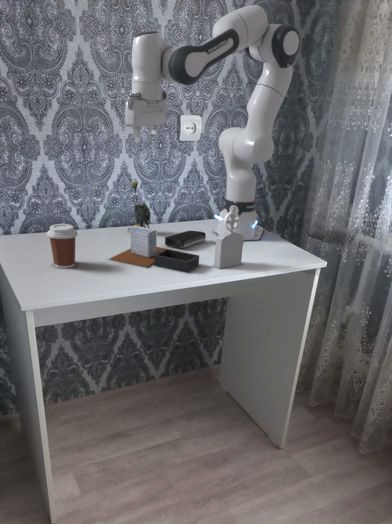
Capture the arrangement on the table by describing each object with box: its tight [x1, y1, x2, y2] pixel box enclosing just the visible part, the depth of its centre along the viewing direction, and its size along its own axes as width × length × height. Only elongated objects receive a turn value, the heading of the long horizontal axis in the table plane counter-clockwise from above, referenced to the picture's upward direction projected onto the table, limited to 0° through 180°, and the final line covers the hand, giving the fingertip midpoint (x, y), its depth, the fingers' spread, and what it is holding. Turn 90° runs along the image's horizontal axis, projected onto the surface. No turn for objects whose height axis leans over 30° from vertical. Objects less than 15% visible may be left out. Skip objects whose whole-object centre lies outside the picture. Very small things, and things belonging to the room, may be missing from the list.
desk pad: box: [109, 246, 171, 268], centre depth 167 cm, size 20×14×1 cm
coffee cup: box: [46, 223, 78, 269], centre depth 152 cm, size 9×9×12 cm
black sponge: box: [164, 230, 207, 249], centre depth 180 cm, size 16×8×4 cm, turn 143°
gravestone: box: [213, 210, 244, 269], centre depth 159 cm, size 3×9×18 cm, turn 127°
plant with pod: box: [128, 178, 152, 232], centre depth 187 cm, size 8×11×20 cm
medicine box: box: [130, 226, 157, 258], centre depth 165 cm, size 8×4×9 cm, turn 56°
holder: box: [153, 248, 200, 274], centre depth 159 cm, size 8×12×4 cm
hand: (145, 141), depth 158 cm, fingers open, 8 cm apart
